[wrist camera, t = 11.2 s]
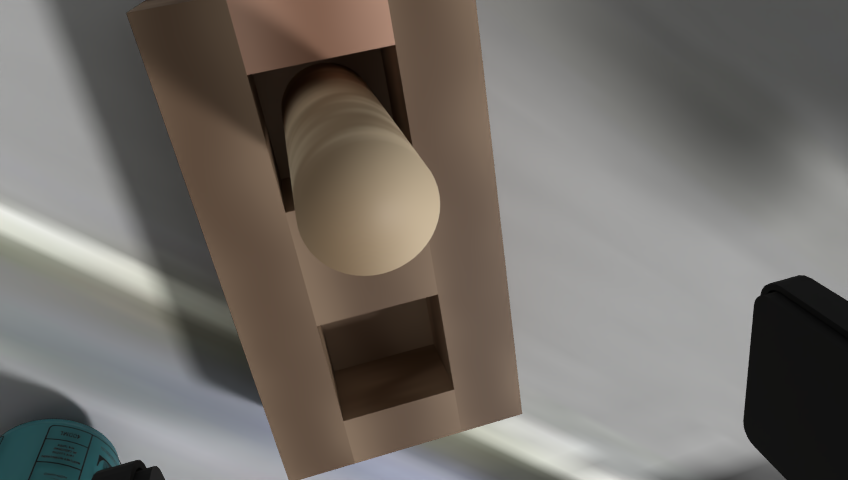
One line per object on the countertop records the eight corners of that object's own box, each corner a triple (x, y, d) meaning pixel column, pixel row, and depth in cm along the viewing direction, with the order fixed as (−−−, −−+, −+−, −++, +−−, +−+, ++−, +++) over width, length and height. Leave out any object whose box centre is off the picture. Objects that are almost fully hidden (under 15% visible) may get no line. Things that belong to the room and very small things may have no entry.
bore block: (435, -54, 28) (469, -52, 23) (490, 357, 38) (522, 413, 33) (147, -1, 26) (126, 13, 22) (285, 415, 36) (289, 482, 32)
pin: (364, 54, 28) (429, 126, 17) (380, 143, 30) (448, 257, 19) (271, 72, 27) (279, 158, 17) (293, 161, 29) (314, 290, 19)
